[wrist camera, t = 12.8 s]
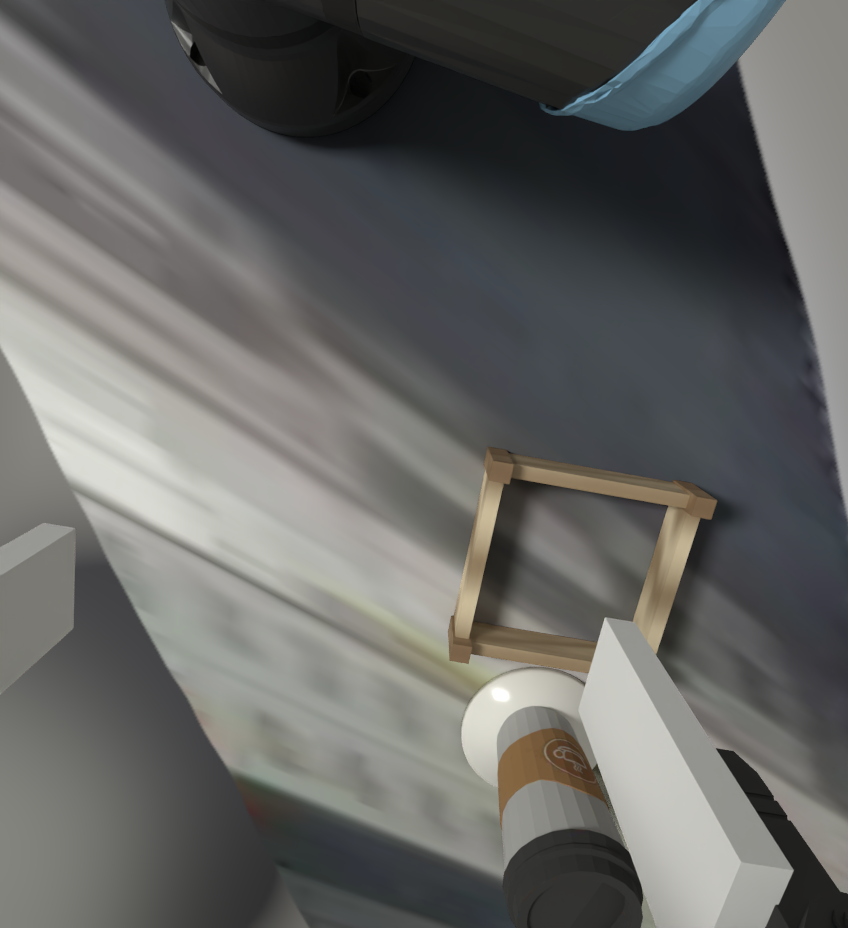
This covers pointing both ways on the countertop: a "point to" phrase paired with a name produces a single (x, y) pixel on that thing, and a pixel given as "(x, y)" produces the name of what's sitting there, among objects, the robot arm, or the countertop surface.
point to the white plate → (510, 696)
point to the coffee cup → (559, 831)
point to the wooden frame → (502, 466)
